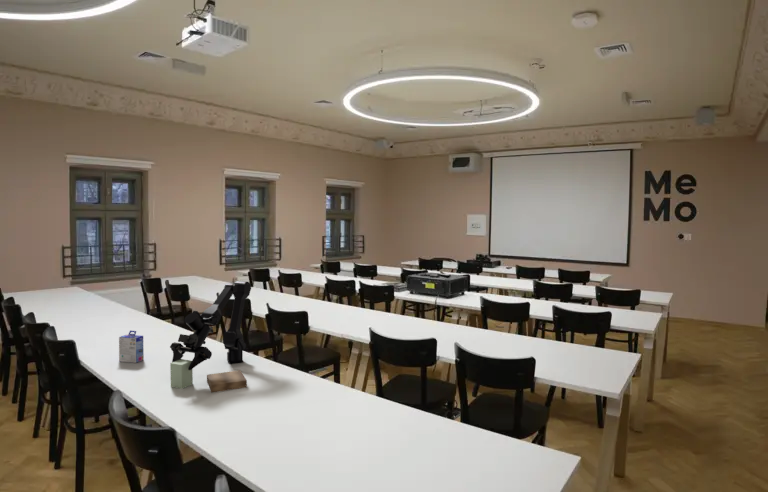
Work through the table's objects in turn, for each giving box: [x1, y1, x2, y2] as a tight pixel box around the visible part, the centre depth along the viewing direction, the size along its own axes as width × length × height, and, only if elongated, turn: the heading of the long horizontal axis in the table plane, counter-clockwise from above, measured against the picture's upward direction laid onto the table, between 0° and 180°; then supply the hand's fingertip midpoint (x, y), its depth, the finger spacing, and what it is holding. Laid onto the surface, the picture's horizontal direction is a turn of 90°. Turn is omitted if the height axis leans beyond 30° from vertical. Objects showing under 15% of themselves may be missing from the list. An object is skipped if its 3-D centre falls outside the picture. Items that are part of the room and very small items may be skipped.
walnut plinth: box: [206, 369, 248, 394], centre depth 203 cm, size 14×14×3 cm
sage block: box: [169, 358, 194, 390], centre depth 201 cm, size 6×6×10 cm
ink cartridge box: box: [118, 330, 145, 364], centre depth 232 cm, size 10×6×14 cm, turn 78°
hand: (180, 368), depth 200 cm, fingers open, 9 cm apart
